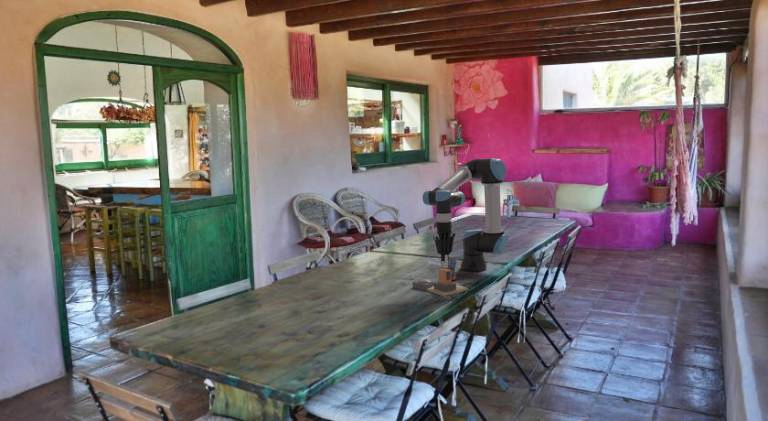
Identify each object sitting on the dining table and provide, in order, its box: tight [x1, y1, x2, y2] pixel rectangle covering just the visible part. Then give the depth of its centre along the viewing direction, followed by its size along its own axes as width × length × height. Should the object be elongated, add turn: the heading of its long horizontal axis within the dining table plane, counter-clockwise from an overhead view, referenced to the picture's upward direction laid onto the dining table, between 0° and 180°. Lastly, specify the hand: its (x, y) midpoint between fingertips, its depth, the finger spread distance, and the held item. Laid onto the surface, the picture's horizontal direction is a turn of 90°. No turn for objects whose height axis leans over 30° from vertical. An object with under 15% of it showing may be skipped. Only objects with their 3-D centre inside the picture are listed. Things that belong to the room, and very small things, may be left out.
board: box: [427, 281, 469, 297], centre depth 293 cm, size 16×16×4 cm
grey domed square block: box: [411, 277, 439, 292], centre depth 300 cm, size 10×10×4 cm
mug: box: [439, 258, 458, 282], centre depth 314 cm, size 12×9×11 cm
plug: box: [438, 268, 452, 285], centre depth 289 cm, size 4×6×10 cm
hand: (445, 267), depth 289 cm, fingers closed
